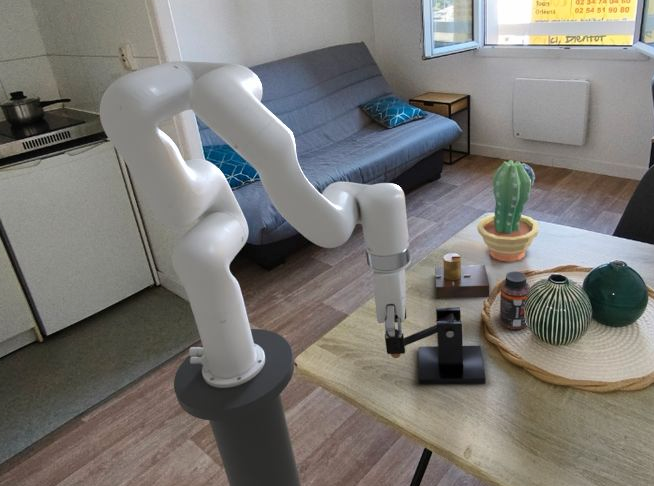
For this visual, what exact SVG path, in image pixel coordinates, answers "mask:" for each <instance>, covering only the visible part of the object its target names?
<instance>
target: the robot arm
mask: <svg viewBox="0 0 654 486" xmlns="http://www.w3.org/2000/svg"><path fill="white" fill-rule="evenodd" d="M262 99H263V86H262V82H261V81H260V78H259V77H258V75H257V74H256V73H255V72H253V70H252V69H250V68H248V67H247V66H245V65H242V64H238V63H233V62H232V63H229V62H209V61H208V62H207V61H206V62H205V61H191V60H190V61H189V60H173V61H166V62H163V63H160V64H156V65H153V66H150V67H145V68H141V69H138V70H135V71H132V72H129V73H127V74H125V75H122V76H121V77H119V78H118V79H116V80H115V81H113V82H112V83H111V84H110V85H109V86H108V87H107V88H106V90H105V91H104V93H103V95H102V96H101V100H100V103H99V104H100V105H99V120H100V123H101V126H102V128H103V131H104V133H105V135H106V136H107V138H108V140H109V141H110V143H111V144H112V146H113V147H114V148H115V150H116V151H117V153H118V154H119V155H120V156H121V158H122V159H123V161H124V162H125V164H126V166H127V167H128V169H129V171H130V173H131V175H132V178H133V179H134V182H135V183H136V184H137V186H138V188H139V190H140V191H141V193H142V195H143V197H144V198H145V199H144V200H145V201H146V203H147V205H148V206H149V208H150V210H151V211H152V213H153V215H154V216H155V218H156V219H157V220H158V222H160V223H161V224H162V225H163V226H164V227H166V228H167V229H168V228H169V229H173V230H174V229H175V230H178V229H182V228H185V227H187V226H189V225H191V224H192V223H193V222H195V221H196V220H198V222H197V223H196V224H194V225H193V226H191V228H190V229H189V230H187V231H186V232H185V233H184V234H183V235H182V236H181V238H179V240H178V241H177V243H176V244H175V246H174V248H173V250H172V254H171V264H172V267H173V269H174V272H175V273H176V276H177V277H178V279H179V281H180V282H181V284H182V286H183V288H184V291H185V293H186V296H187V298H188V301H189V305H190V308H191V311H192V314H193V317H194V321H195V325H196V327H197V331H198V334H199V338H200V341H201V345H203V348H200V346H192V347H190V348H189V350H188V356H190V357H191V358H190V363H191V364H198V363H201V364H202V365H203V367H202V374H203V378H204V380H205V381H206V382H207V383H208V384H209V385H211V386H214V387H218V388H229V387H234V386H238V385H241V384H243V383H245V382H247V381H249V380H251V379H252V378H253V377H255V376H256V375H257V374H258V373H259V372H260V371H261V369H262V368H263V366H264V363H265V355H264V351H263V349H262V348H261V347H260V346H258V345H257V344H254V342H253V338H252V333H251V329H252V328H251V325H250V321H249V318H248V313H247V309H246V304H245V300H244V297H243V294H242V289H241V287H240V283H239V281H238V280H237V278H236V277H235V276H234V275H233V274H232V272H231V270H230V265H231V263H232V262H233V260H234V259H235V257H236V256H237V255H238V253H239V252H240V251H241V250H242V248H243V247H244V246H245V245H246V243H247V241H248V238H249V233H250V232H249V225H248V221H247V219H246V217H245V215H244V213H243V211H242V208H241V206H240V204H239V202H238V201H237V198H236V196H235V194H234V192H233V190H232V187H231V186H230V183H229V182H228V180H227V178H226V176H225V175H224V173H223V172H222V171H221V169H219V168H218V167H217V166H216V165H215V164H214V163H212V162H211V161H209V160H207V159H204V158H190V159H187V160H184V158H183V157H182V153H181V152H180V150H179V148H178V146H177V145H176V144H175V142H174V141H173V139H172V138H171V137H170V136H168V134H166V133H165V132H164V131H163V130H161V129H160V128H159V125H160V124H161V123H162V122H164V121H166V120H168V119H171V118H173V117H175V116H178V115H179V114H182V113H183V112H186V111H191V110H192V113H194V115H195V116H196V117H197V118H198V119H199V120H200V121H201V122H202V123H203V124H204V125H206V126H207V128H209V129H210V130H211V131H212V132H213V133H215V134H216V135H217V136H218V137H219V138H220V139H221V140H222V141H224V143H226V144H227V145H228V146H229V147H230V148H231V149H232V150H234V151H235V152H236V153H237V154H238V155H239V156H240V157H241V158H242V159H243V160H245V161H246V162H247V163H248V164H249V165H250V166H251V167H252V168H253V170H255V171H256V172H257V175H258V176H259V179H260V182H261V185H262V187H263V190H265V192H266V194H267V196H268V198H269V199H270V201H271V203H272V205H273V206H274V208H275V209H276V211H277V212H278V214H280V215H281V217H282V218H283V219H284V220H285V221H286V222H287V223H288V224H289V225H290V226H292V228H293V229H294V230H296V231H297V232H298V233H300V234H301V235H302V236H303V237H304V238H305V239H307V240H308V241H310V242H311V243H313V244H315V245H316V246H319V247H322V248H324V249H336V248H339V247H341V246H343V245H344V244H345V243H346V242H348V240H349V239H350V237H351V236H352V233H353V232H354V230H355V228H356V225H358V224H360V225H361V227H362V235H363V242H364V249H365V256H366V257H365V258H366V264H367V268H368V269H369V270H371V271H372V272H373V291H374V303H375V313H376V321H377V323H378V324H384V340H385V341H384V342H385V348H386V349H385V350H386V354H388V355H391V354H401V355H403V354H405V353H406V346H405V344H404V338H405V337H404V336H405V335H404V333H402V331H403V330H402V322H404V321H405V320H406V319H407V309H406V308H407V307H406V306H407V280H406V269H407V268H408V267H409V265H410V264H411V262H412V260H411V251H410V250H411V249H410V239H409V229H408V228H409V227H408V217H407V206H406V195H405V192H404V190H403V188H402V187H400V186H399V185H397V184H395V183H392V182H391V183H390V182H381V183H374V184H365V183H359V182H351V181H336V182H333V183H330V184H329V185H328V186H326V187H325V188H324V190H323V191H322V193H320V192H319V191H318V190H317V189H316V188H315V187H314V186H313V185H312V183H310V181H309V180H308V178H307V177H306V176H305V174H304V172H303V171H302V168H301V166H300V163H299V160H298V155H297V147H296V145H297V144H296V140H295V136H294V133H293V132H292V130H291V129H290V128H289V127H288V126H287V125H286V124H284V123H283V122H282V121H281V119H279V118H278V117H277V116H276V115H275V114H273V112H272V111H271V110H269V109H268V108H267V107H266V106H265V105H264V104H263V103H262V102H261V101H262ZM396 323H397V328H396ZM199 356H202V357H199Z"/></svg>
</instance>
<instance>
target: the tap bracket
mask: <svg viewBox="0 0 654 486" xmlns="http://www.w3.org/2000/svg"><path fill="white" fill-rule="evenodd" d="M450 313H453V314H454V316H455V317H456V319H457V320H458V321H439V318H441V317H443V316H446V315H448V314H450ZM461 314H462V313H461V307H459V306H455V307H452V306H451V307H450V306H449V307H436V308H435V315H436V316H435V317H436V325H437V333H436V334H437V345H432V346H429V345H428V346H418V385H460V384H461V385H464V384H465V385H468V384H471V385H474V384H476V385H477V384H478V385H479V384H486V383H487V379H486V378H487V377H486V371H485V365H484V359H483V354H482V349H481V348H482V347H481V345H480V344H479V345H478V344H477V345H476V344H475V345H474V344H473V345H464V344H463V343H464V342H463V341H464V340H463V321H462V319H461V316H462V315H461Z"/></svg>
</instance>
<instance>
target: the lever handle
mask: <svg viewBox="0 0 654 486" xmlns="http://www.w3.org/2000/svg"><path fill="white" fill-rule="evenodd" d="M439 321H458V320H457V319H456V317H455V316H454V314H453V313H450V314H448V315H446V316H443V317H441V318H439ZM435 334H437V324H435V325H432V326H430V327H428V328H425V329H423V330H420V331H418V332H415V333H413V334H410V335H407V336H405V337H404V344H405V347H406V346H408V345H411V344H414V343H416V342H419V341H420V340H423V339H426V338H428V337H431V336H433V335H435ZM401 355H402V354H390V356H391V358H393V359H398V358H400V357H401Z"/></svg>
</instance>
